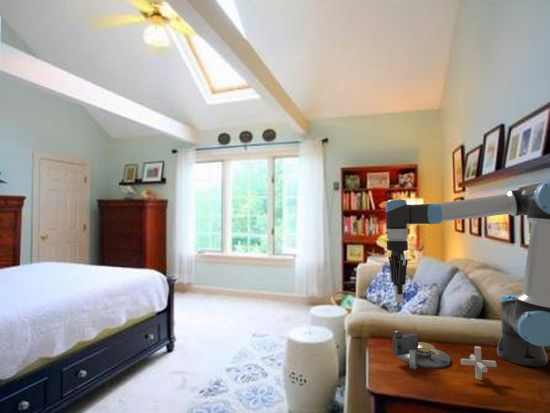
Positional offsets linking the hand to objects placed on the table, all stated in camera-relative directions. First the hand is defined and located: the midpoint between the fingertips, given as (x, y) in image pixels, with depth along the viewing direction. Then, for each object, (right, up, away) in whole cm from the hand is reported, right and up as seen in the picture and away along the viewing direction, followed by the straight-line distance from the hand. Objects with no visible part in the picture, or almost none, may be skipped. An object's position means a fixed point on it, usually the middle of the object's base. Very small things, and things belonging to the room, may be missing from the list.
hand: (398, 302), depth 127 cm
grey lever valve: (+4, -17, -3) cm, 18 cm away
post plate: (+7, -20, -2) cm, 22 cm away
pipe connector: (+19, -20, -18) cm, 33 cm away
